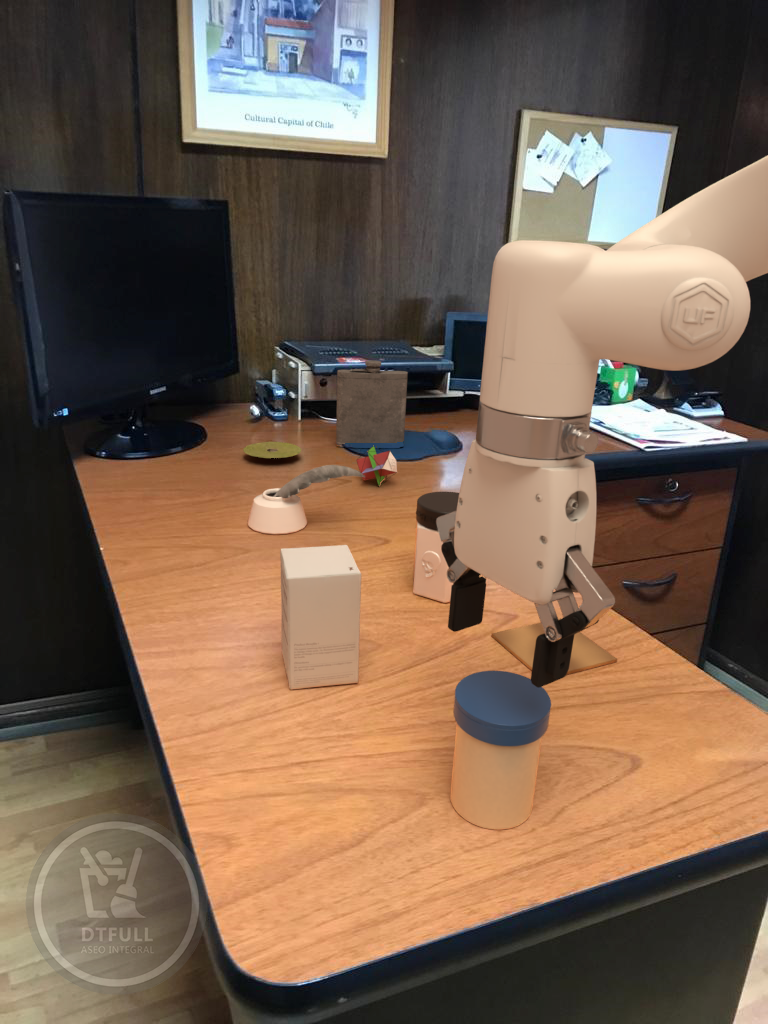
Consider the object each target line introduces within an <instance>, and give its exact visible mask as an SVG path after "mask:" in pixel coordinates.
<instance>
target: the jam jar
mask: <svg viewBox="0 0 768 1024" xmlns="http://www.w3.org/2000/svg"><path fill="white" fill-rule="evenodd" d="M455 726H456V727H455V737H454V746H453V747H454V748H453V758H452V768H451V769H452V771H451V779H450V780H451V782H450V791H449V794H450V795H449V799H450V802H451V805H452V807H453V809H454V810H455V812H456V813H457V814H458V815H459V816H460V817H461V818H462V819H464V820H465V821H467V822H468V823H470V824H472V825H475V826H476V827H480V828H483V829H488V830H495V831H497V830H498V831H501V830H510V829H513V828H516V827H519V826H520V825H522V824H524V823H525V822H526V821H527V820H528V819H529V818H530V816H531V815H532V812H533V808H534V801H535V793H536V786H537V780H538V779H537V778H538V771H539V765H540V764H539V763H540V756H541V748H542V743H543V736H542V737H541V738H540V739H538V740H536V741H534V742H532V743H529V744H526V745H521V746H499V745H493V744H489V743H486V742H483V741H480V740H478V739H476V738H474V737H472V736H470V735H469V734H467V733H466V732H465V731H463V730H462V729H461V728H460V727H459V725H458V724H457V723H456V725H455Z"/></svg>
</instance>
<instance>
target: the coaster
mask: <svg viewBox="0 0 768 1024" xmlns="http://www.w3.org/2000/svg"><path fill="white" fill-rule="evenodd" d="M560 619H562V618H558V620H560ZM541 634H544V630H543V627H542V624H541V622H537V623H533V624H529V625H524V626H523V625H522V626H519V627H514V628H510V629H505V630H501V631H496V632H492V633H491V635H490V636H491V638H492V639H494V640H495V641H496V642H497V643H498V644H500V645H501V646H502V647H503V648H504V649H506V650H507V651H508V652H509V653H510V654H512V655H513V656H514V657H515V658H516V659H517V660H519V662H521V663H522V664H523V666H524V665H525V666H526V667H527V669H529V670H530V671H532V666H533V659H534V651H535V644H536V639H537V637H538V636H539V635H541ZM617 662H618V658H617V657H616V656H614V654H611V653H610V652H609V651H607V650H606V649H604V648H603V647H602V646H600V645H599V644H598V643H596V642H595V641H593V640H592V639H591V638H589V637H588V636H586V635H585V634H584V633H582V631H581V632H579V633H576V634H574V640H573V646H572V653H571V659H570V665H569V670H568V672H567V674H566V676H567V675H571V674H575V673H579V672H584V671H587V670H590V669H594V668H599V667H602V666H606V665H611V664H614V663H617Z"/></svg>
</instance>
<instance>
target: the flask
mask: <svg viewBox="0 0 768 1024" xmlns="http://www.w3.org/2000/svg"><path fill="white" fill-rule="evenodd" d="M364 364H365V366H366V367H365V368H351V369H338V370H337V375H336V377H337V378H336V420H335V421H336V425H335V426H336V427H335V445H336V444H337V445H342V444H345V443H397V442H403V441H404V442H405V429H406V428H405V427H406V412H407V411H406V409H407V391H408V389H407V388H408V373H409V372H408V371H404V370H381V367H382V361H381V360H371V359H369V360H365V363H364Z"/></svg>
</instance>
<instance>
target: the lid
mask: <svg viewBox="0 0 768 1024" xmlns="http://www.w3.org/2000/svg"><path fill="white" fill-rule="evenodd" d="M454 690H455V691H454V699H453V700H454V701H453V711H452V712H453V717H454V720H455V723H456V724H458V725H459V727H460V728H461V729H462V730H463V731H465V732H466V733H467V734H469V735H470V736H472V737H474V738H476V739H478V740H480V741H483V742H486V743H489V744H493V745H499V746H521V745H526V744H529V743H532V742H534V741H536V740H538V739H540V738H541V737H542V738H543V736H544V735H545V734H546V732H547V731H548V728H549V722H550V716H551V709H552V700H551V696H550V694H549V693H548V692H547V691H546V689H545V688H544V686H542V687H540V688H538V687H536V686H535V685H533V684H532V682H531V678H529V677H527V676H525V675H522V674H518V673H515V672H510V671H505V670H482V671H477V672H474V673H470V674H469V675H467V676H465V677H462V679H461V680H459V682H458V683H457V685H456V687H455V689H454Z"/></svg>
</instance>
